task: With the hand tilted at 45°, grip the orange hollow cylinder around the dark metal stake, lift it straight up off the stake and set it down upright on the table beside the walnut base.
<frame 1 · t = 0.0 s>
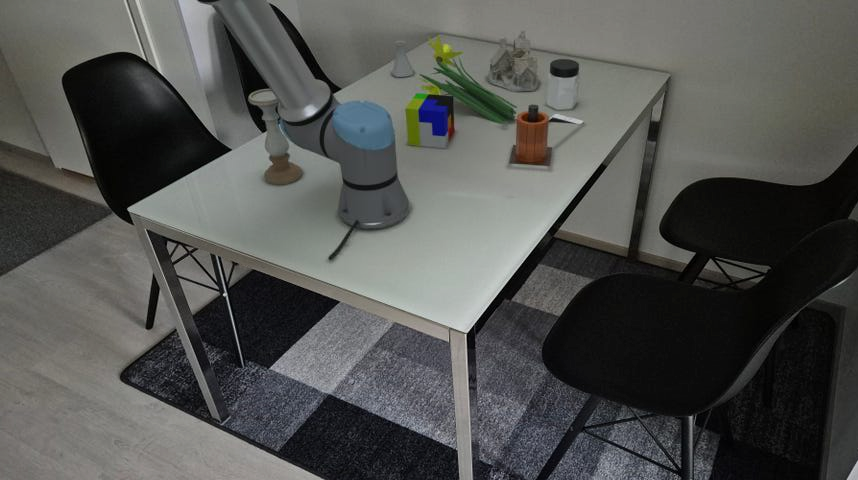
stake: (530, 159, 157), on the table
ceramic cottage: (512, 82, 197), on the table
orange hollow cylinder: (530, 155, 156), point 1 cm above the table, touching stake
candle holder: (283, 176, 151), on the table
flask: (402, 74, 203), on the table
jar: (561, 105, 184), on the table
cell phone: (554, 132, 169), on the table
puzzle toy: (431, 138, 167), on the table
daffodil flowers: (469, 110, 181), on the table
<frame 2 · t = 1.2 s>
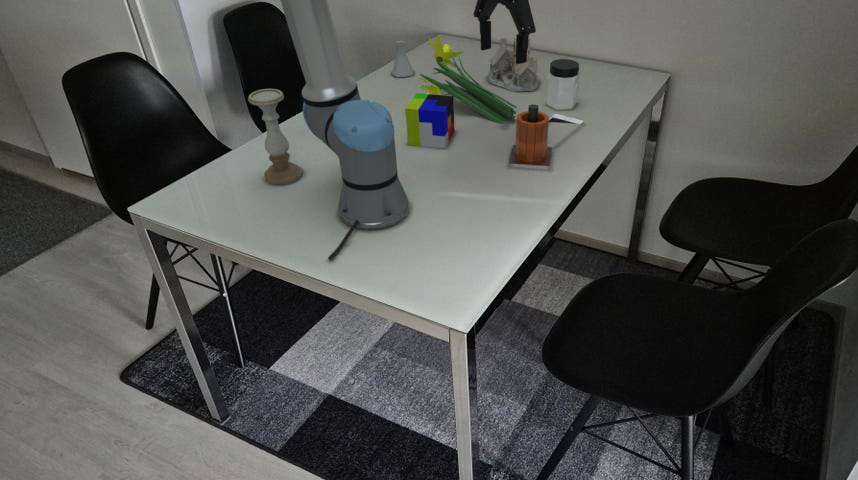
hand: (503, 56, 152), 22 cm above the table, tool pointing down, fingers open, 13 cm apart
nothing on the table moved.
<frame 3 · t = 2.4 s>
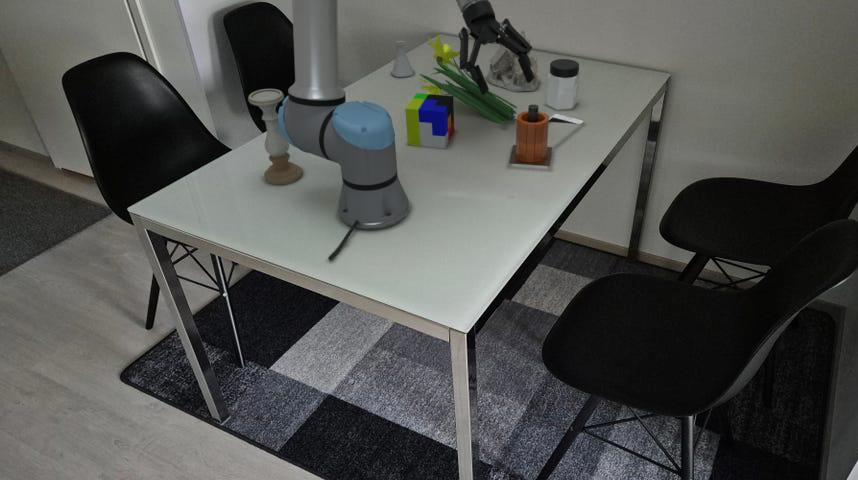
hand: (508, 86, 154), 15 cm above the table, tool tilted 45°, fingers open, 13 cm apart
nothing on the table moved.
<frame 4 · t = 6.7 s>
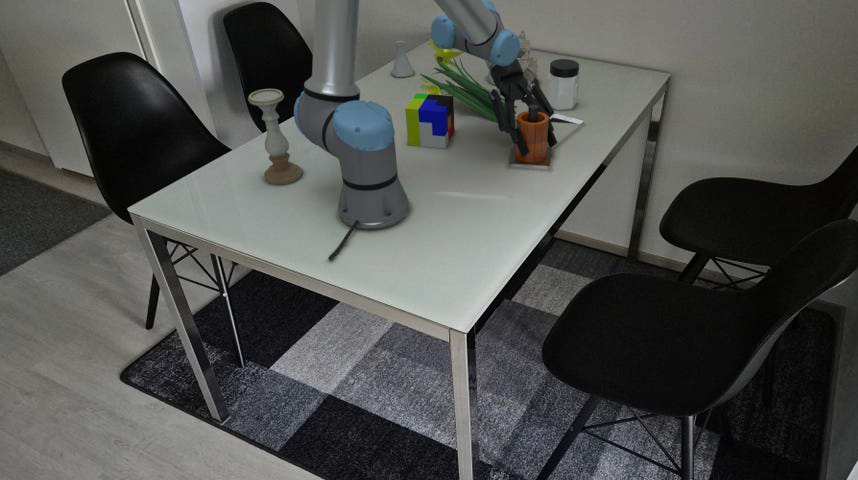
hand: (539, 149, 152), 4 cm above the table, tool tilted 45°, fingers closed on orange hollow cylinder, 8 cm apart
orange hollow cylinder: (530, 155, 156), point 1 cm above the table, touching gripper, stake
everything else where it was.
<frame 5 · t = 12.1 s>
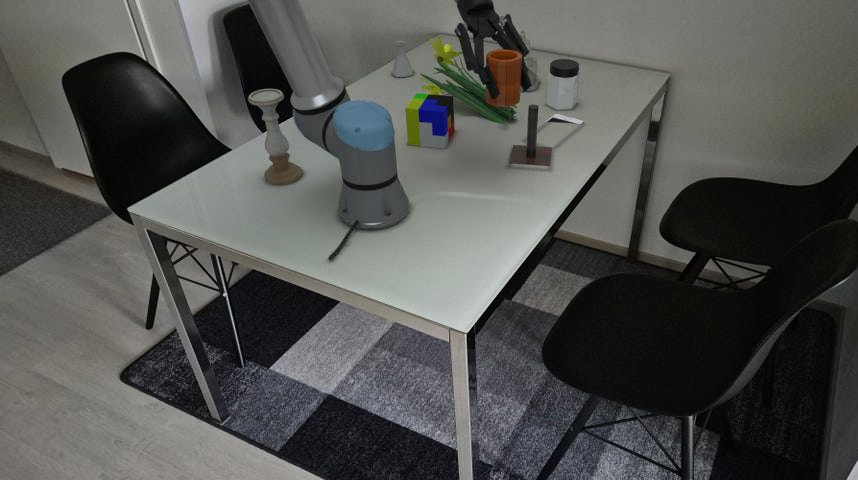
hand: (512, 92, 136), 21 cm above the table, tool tilted 45°, fingers closed on orange hollow cylinder, 8 cm apart
orange hollow cylinder: (502, 99, 140), point 18 cm above the table, touching gripper
everything else where it was.
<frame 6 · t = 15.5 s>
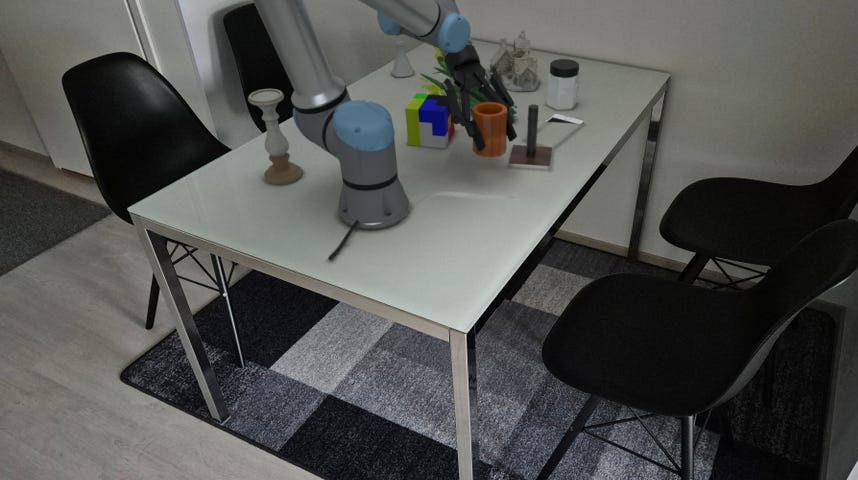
hand: (498, 143, 141), 10 cm above the table, tool tilted 45°, fingers closed on orange hollow cylinder, 8 cm apart
orange hollow cylinder: (489, 149, 145), point 8 cm above the table, touching gripper
everything else where it was.
when the fingers open (3 cm above the table, at t = 18.0 s): orange hollow cylinder stays where it is, on the table.
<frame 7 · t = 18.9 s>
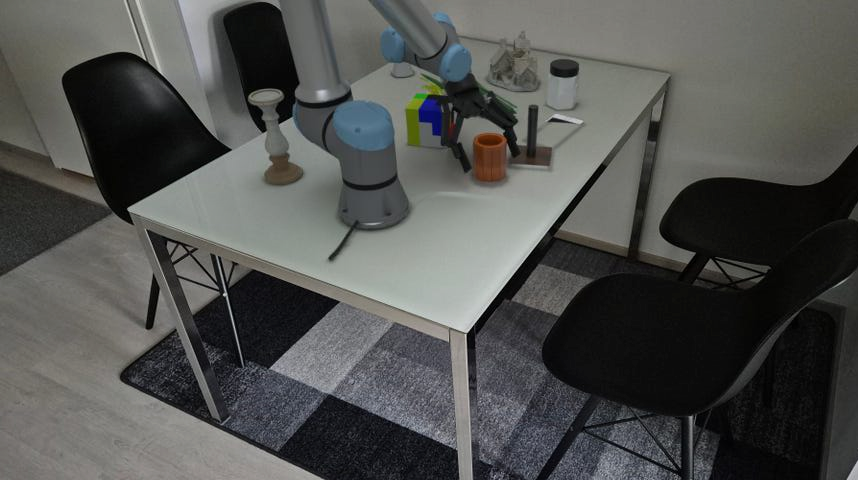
hand: (493, 163, 145), 5 cm above the table, tool tilted 45°, fingers open, 13 cm apart
orange hollow cylinder: (489, 178, 150), on the table
everything else where it was.
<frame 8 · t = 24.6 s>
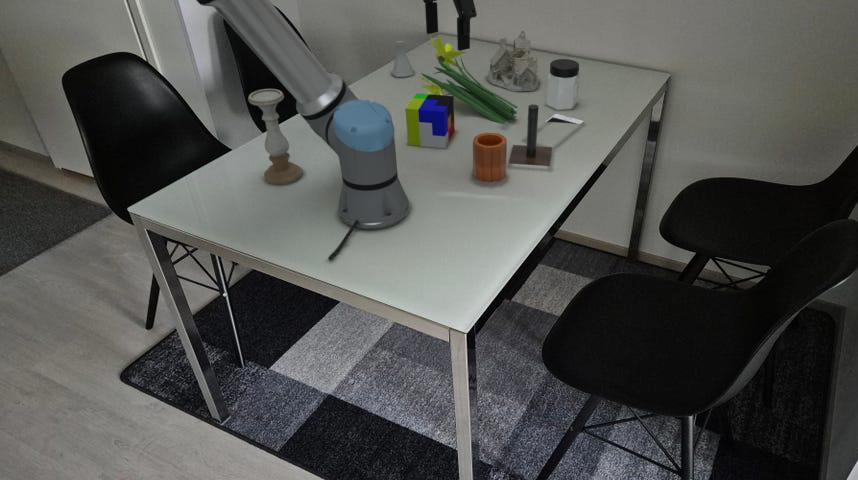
hand: (447, 40, 141), 29 cm above the table, tool pointing down, fingers open, 13 cm apart
nothing on the table moved.
at the end: orange hollow cylinder inside the target area (0.1 cm from its centre), on the table; orange hollow cylinder tilted 0°; the gripper is holding nothing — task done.
